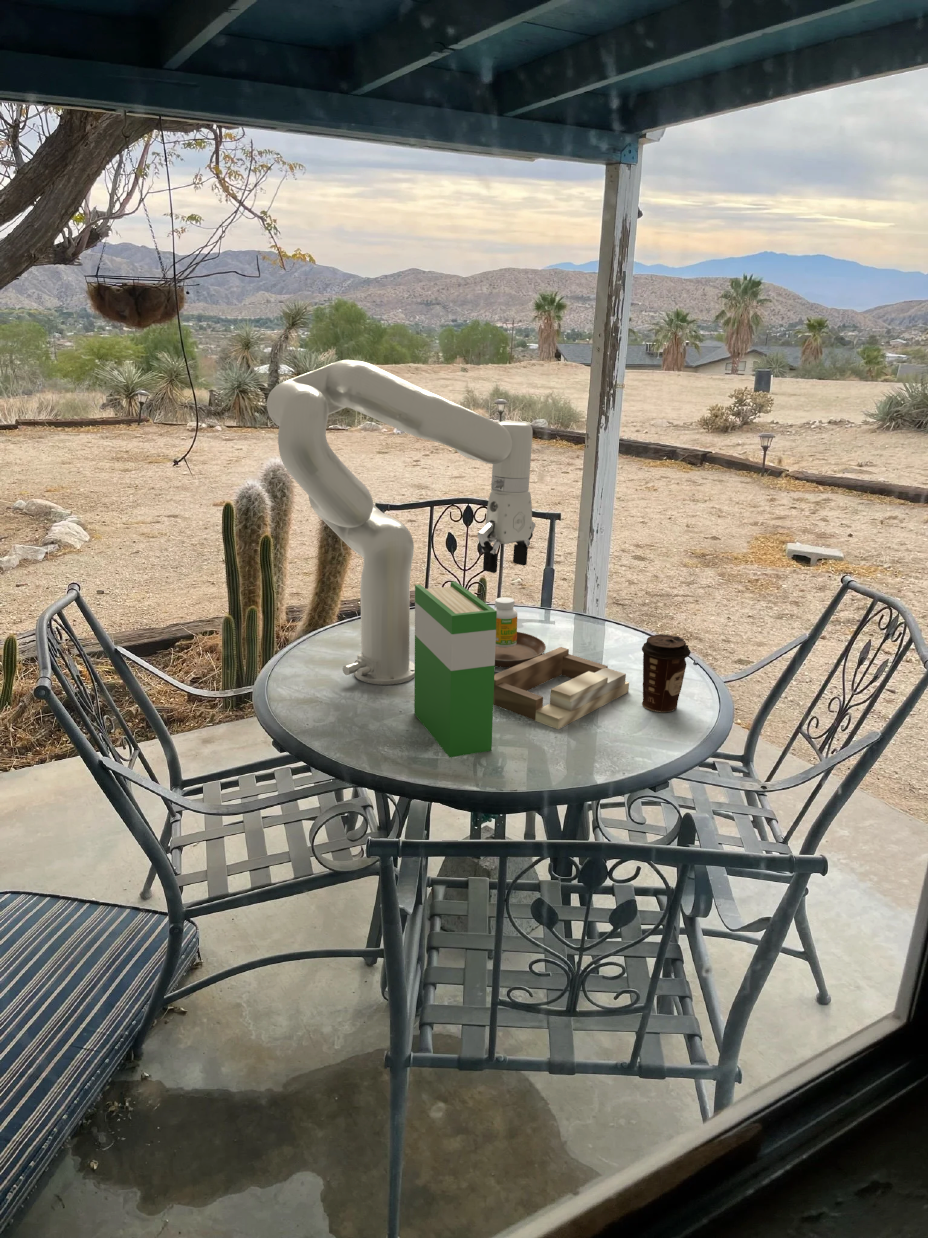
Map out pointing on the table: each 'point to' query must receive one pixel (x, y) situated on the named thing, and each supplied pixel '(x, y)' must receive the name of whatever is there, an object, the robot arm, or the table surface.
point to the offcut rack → (558, 687)
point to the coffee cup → (663, 671)
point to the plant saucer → (519, 651)
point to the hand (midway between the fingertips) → (505, 567)
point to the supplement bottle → (506, 622)
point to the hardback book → (455, 668)
